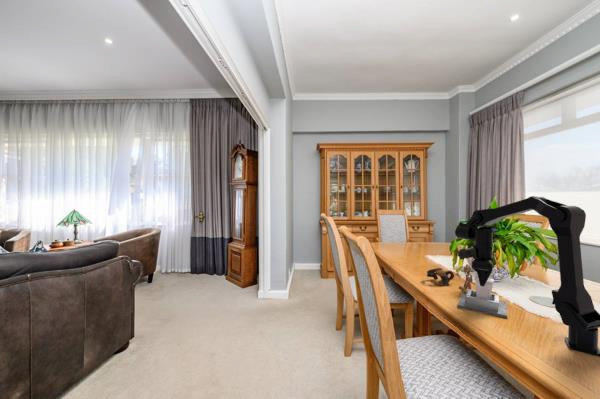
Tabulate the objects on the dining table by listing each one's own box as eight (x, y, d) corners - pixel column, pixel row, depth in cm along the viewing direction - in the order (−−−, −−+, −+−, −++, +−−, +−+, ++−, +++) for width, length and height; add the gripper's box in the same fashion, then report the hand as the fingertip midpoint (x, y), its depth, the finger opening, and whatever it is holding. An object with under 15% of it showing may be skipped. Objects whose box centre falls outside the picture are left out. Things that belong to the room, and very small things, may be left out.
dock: (507, 318, 92) (507, 307, 92) (457, 307, 101) (457, 296, 101) (506, 304, 104) (506, 294, 104) (461, 295, 113) (462, 286, 113)
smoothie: (496, 307, 99) (498, 270, 98) (477, 305, 100) (479, 269, 100) (488, 300, 105) (489, 265, 105) (470, 299, 106) (471, 264, 106)
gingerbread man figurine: (476, 295, 114) (477, 267, 113) (466, 294, 115) (467, 266, 114) (468, 288, 122) (468, 262, 122) (459, 287, 123) (459, 261, 123)
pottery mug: (433, 287, 125) (426, 269, 129) (429, 289, 133) (423, 273, 137) (460, 281, 123) (452, 264, 127) (454, 284, 132) (447, 268, 136)
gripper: (461, 237, 115) (461, 273, 115) (456, 243, 100) (455, 285, 100) (493, 240, 108) (493, 278, 108) (492, 247, 93) (492, 291, 93)
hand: (482, 282), depth 103 cm, fingers open, 9 cm apart
